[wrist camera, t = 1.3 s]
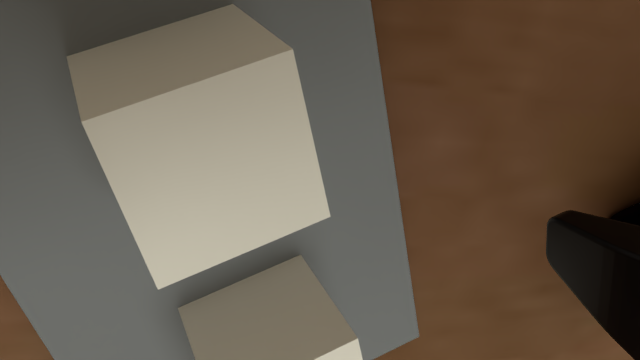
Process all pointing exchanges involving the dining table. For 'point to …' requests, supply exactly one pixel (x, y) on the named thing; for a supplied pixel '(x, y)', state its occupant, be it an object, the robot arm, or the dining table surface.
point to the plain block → (201, 139)
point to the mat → (108, 219)
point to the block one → (270, 319)
